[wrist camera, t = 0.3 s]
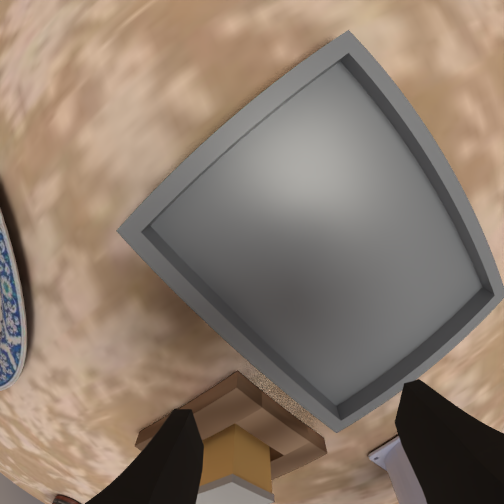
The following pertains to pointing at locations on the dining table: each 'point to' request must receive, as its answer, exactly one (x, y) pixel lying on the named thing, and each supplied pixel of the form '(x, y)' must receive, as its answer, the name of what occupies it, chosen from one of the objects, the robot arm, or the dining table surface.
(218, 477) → the block
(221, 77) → the dining table surface
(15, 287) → the ceramic plate
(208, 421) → the socket
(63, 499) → the supplement bottle
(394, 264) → the parts tray
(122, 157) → the dining table surface
